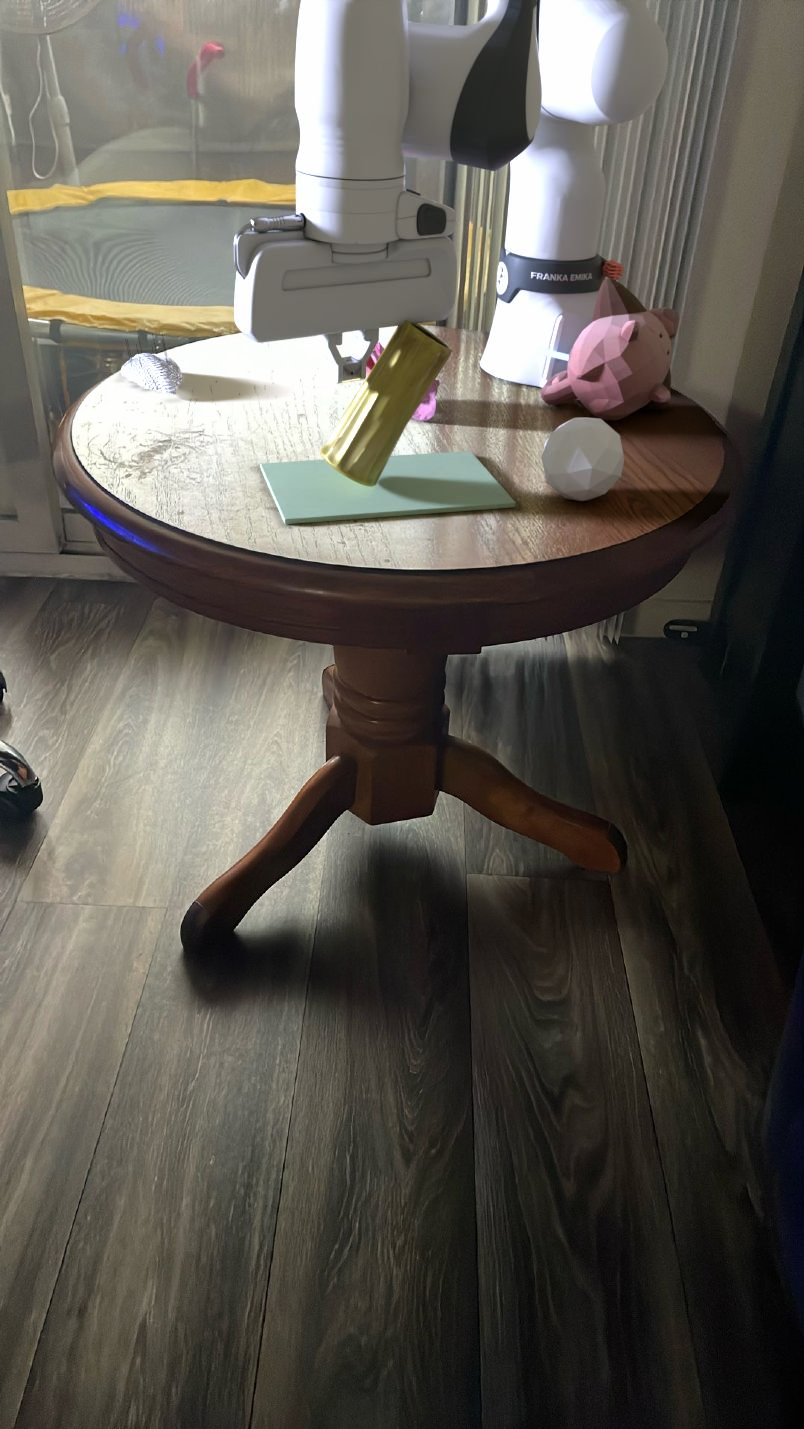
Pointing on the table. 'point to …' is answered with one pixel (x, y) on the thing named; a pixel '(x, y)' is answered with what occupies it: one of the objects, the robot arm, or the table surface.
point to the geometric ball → (583, 458)
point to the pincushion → (153, 371)
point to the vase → (385, 404)
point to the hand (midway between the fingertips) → (347, 380)
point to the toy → (618, 358)
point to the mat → (384, 488)
